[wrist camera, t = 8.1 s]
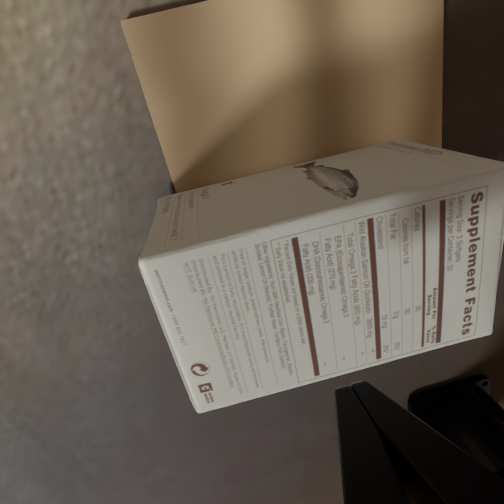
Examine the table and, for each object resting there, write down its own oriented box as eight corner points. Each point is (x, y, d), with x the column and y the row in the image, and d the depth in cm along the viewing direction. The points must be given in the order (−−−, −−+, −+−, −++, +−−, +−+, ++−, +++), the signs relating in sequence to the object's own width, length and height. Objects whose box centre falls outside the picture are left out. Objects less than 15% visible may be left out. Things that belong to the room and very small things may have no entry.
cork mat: (437, -51, 15) (444, -55, 15) (434, 338, 24) (438, 343, 24) (122, 23, 14) (120, 21, 14) (242, 394, 24) (243, 400, 23)
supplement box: (154, 194, 17) (396, 135, 18) (195, 316, 20) (400, 261, 21) (129, 256, 10) (521, 157, 11) (197, 424, 13) (498, 338, 14)
